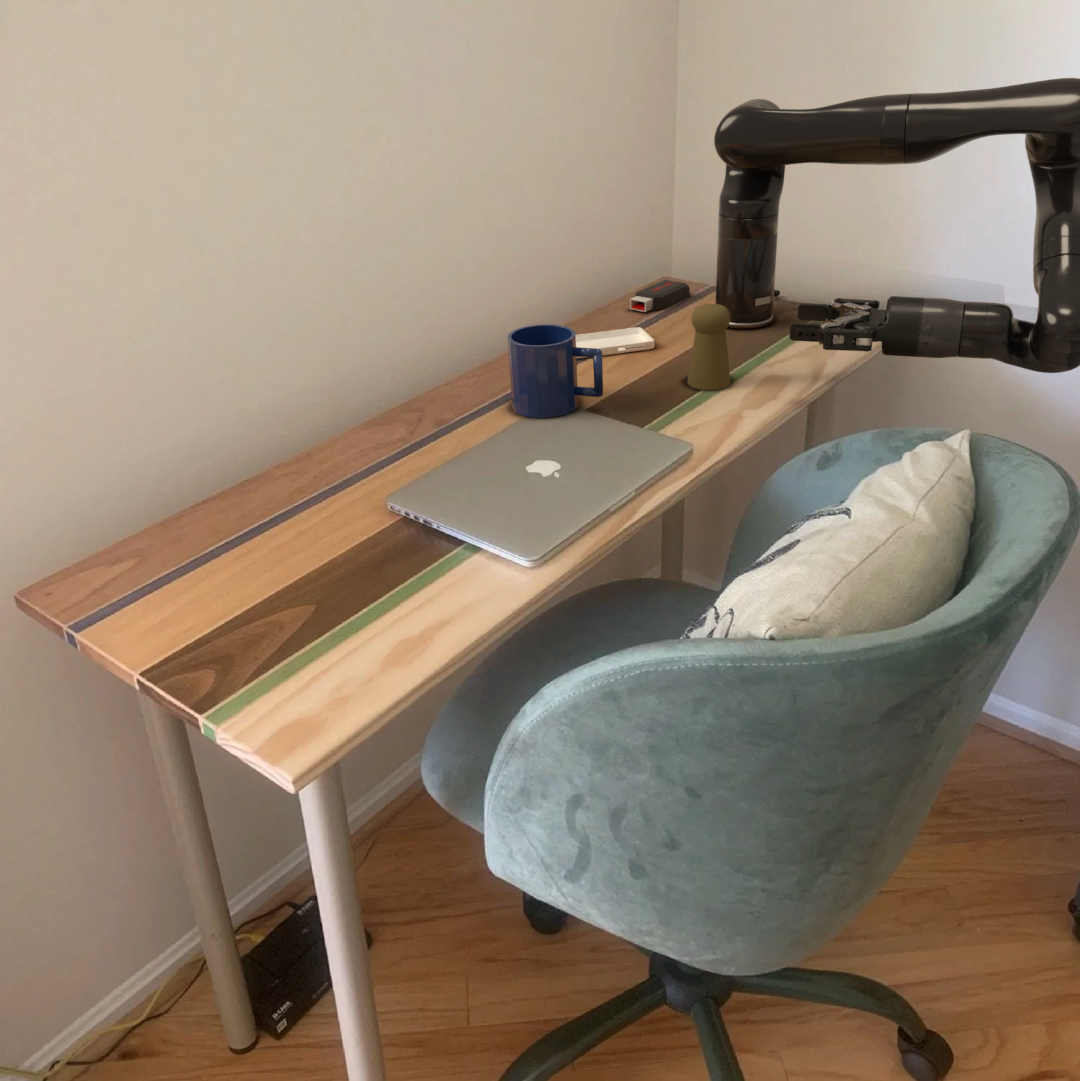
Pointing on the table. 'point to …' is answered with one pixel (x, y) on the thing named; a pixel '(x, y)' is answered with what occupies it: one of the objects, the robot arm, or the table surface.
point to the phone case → (616, 341)
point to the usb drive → (659, 296)
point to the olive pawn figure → (709, 348)
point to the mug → (548, 370)
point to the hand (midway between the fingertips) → (794, 321)
